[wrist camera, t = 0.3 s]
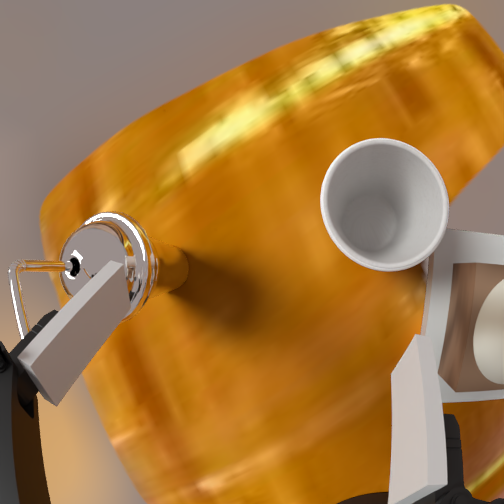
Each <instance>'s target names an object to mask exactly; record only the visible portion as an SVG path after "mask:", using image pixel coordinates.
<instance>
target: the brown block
mask: <svg viewBox="0 0 504 504" xmlns="http://www.w3.org/2000/svg"><path fill="white" fill-rule="evenodd" d="M438 375H439V376H440V377H441V378H442V379H443V380H444V381H445V382H446V383H447V384H448V385H449V386H450V387H451V388H452V389H453V390H454V391H455V392H477V391H491V390H503V389H504V265H499V264H488V263H477V262H474V263H453V273H452V284H451V294H450V303H449V311H448V318H447V325H446V331H445V337H444V343H443V348H442V354H441V359H440V364H439V368H438Z"/></svg>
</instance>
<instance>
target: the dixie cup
mask: <svg viewBox="0 0 504 504" xmlns="http://www.w3.org/2000/svg"><path fill="white" fill-rule="evenodd" d="M320 203H321V213H322V217H323V221H324V224H325V227H326V229H327V231H328V233H329V235H330V237H331V238H332V240H333V242H334V243H335V244H336V246H337V247H338V248H339V249H340V250H341V251H342V252H343V253H344V254H345V255H346V256H347V257H349V258H350V259H351V260H353V261H355V262H356V263H358V264H360V265H362V266H364V267H367V268H370V269H373V270H378V271H387V272H391V271H400V270H405V269H408V268H411V267H413V266H415V265H417V264H419V263H421V262H422V261H424V260H425V259H426V258H427V257H429V256H430V255H431V254H432V253H433V252H434V250H435V249H436V248H437V247H438V245H439V244H440V242H441V240H442V238H443V236H444V234H445V231H446V228H447V224H448V218H449V199H448V194H447V190H446V187H445V184H444V181H443V179H442V177H441V175H440V173H439V172H438V170H437V169H436V167H435V166H434V164H433V163H432V162H431V161H430V160H429V159H428V158H427V157H426V156H425V155H424V154H423V153H421V152H420V151H419V150H417V149H416V148H414V147H412V146H410V145H408V144H406V143H404V142H401V141H397V140H393V139H386V138H375V139H368V140H364V141H361V142H358V143H356V144H354V145H352V146H350V147H349V148H347V149H346V150H344V151H343V152H342V153H341V154H340V155H339V156H338V157H337V158H336V159H335V160H334V161H333V163H332V164H331V165H330V167H329V169H328V171H327V173H326V175H325V177H324V180H323V184H322V188H321V198H320Z"/></svg>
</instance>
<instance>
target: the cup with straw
mask: <svg viewBox="0 0 504 504" xmlns="http://www.w3.org/2000/svg"><path fill="white" fill-rule="evenodd" d="M110 260H112V261H115V262H118V263H122V264H124V270H125V276H126V282H127V288H128V293H129V299H130V304H131V309H130V311H129V312H128V313H127V314H126V316H125V317H124V318H123V319H122V321H121V322H120V323H123V322H125V321H128V320H130V319H132V318H133V317H134V316H136V315H137V314H138V313H139V312H140V311H141V309H142V308H143V307H144V306H145V304H146V302H147V300H149V299H151V298H154V297H157V296H159V295H162V294H164V293H167V292H170V291H172V290H175V289H177V288H179V287H180V286H182V285H183V283H184V282H185V281H186V279H187V276H188V272H189V264H188V260H187V257H186V256H185V254H184V253H183V252H182V251H181V250H180V249H179V248H177V247H175V246H172V245H170V244H167V243H165V242H162V241H160V240H157V239H155V238H152V237H149V236H148V235H147V233H146V232H145V230H144V229H143V227H142V226H141V225H140V224H139V223H138V221H136V220H135V219H134V218H132V217H131V216H129V215H127V214H125V213H123V212H116V211H112V212H102V213H99V214H96V215H94V216H92V217H91V218H89V219H88V220H86V221H85V222H84V223H83V224H82V225H81V226H80V228H78V229H77V230H75V231H74V232H73V233H72V234H71V235H70V236H69V237H68V239H67V241H66V242H65V244H64V246H63V248H62V250H61V254H60V259H59V261H47V260H23V259H21V260H17V261H14V263H12V264H11V266H10V267H9V271H8V280H9V286H10V292H11V297H12V303H13V307H14V313H15V317H16V322H17V326H18V330H19V334H20V338H21V340H22V339H23V338H24V337H25V336H26V334H27V333H28V332H29V331H31V329H30V325H29V321H28V317H27V313H26V308H25V304H24V299H23V294H22V289H21V284H20V279H19V273H21V272H59V275H60V280H61V283H62V286H63V288H64V290H65V292H66V293H67V295H68V296H69V298H70V299H72V298H73V297H74V296H75V295H76V294H77V293H78V292H79V291H80V290H81V289H82V288H83V287H84V286H85V285H86V284H87V283H88V282H89V281H90V280H91V279H92V278H93V277H94V276H95V275H96V274H97V273H98V272H99V271H100V270H101V269H102V268H103V267H104V266H105V265H106V264H107V263H108V262H109V261H110Z"/></svg>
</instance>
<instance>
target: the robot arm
mask: <svg viewBox="0 0 504 504" xmlns="http://www.w3.org/2000/svg"><path fill="white" fill-rule="evenodd" d="M130 309H131V304H130V299H129V293H128V288H127V282H126V276H125V270H124V264H122V263H118V262H115V261H112V260H110V261H109V262H108V263H107V264H106V265H105V266H104V267H103V268H102V269H101V270H100V271H99V272H98V273H97V274H96V275H95V276H94V277H93V278H92V279H91V280H90V281H89V282H88V283H87V284H86V285H85V286H84V287H83V288H82V289H81V290H80V291H79V292H78V293H77V294H76V295H75V296H74V297H73V298H72V299H71V300H70V301H69V302H68V303H67V304H66V305H65V306H64V307H63V308H62V309H61V310H60V311H59V312H58V311H56V310H53V311H51V312H50V313H48V314H46V315H44V316H43V318H42V319H41V320H40V321H39V322H38V323H37V325H35V326H34V327H33V328H32V330H31V331H29V332H28V333H27V334H26V336H25V337H24V338H23V339H22V340H21V341H20V342H19V343H18V344H17V346H16V347H15V348H14V349H13V350H12V351H11V352H10V353H8V352H7V350H6V348H5V346H4V345H3V343H2V342H1V341H0V504H51V502H50V497H49V493H48V487H47V481H46V476H45V470H44V464H43V456H42V448H41V439H40V429H39V416H38V399H37V396H36V394H37V393H38V391H39V392H40V393H41V395H42V396H43V397H44V399H46V400H47V401H49V402H50V403H52V404H54V405H55V406H58V404H59V403H60V401H61V400H62V399H63V397H64V396H65V394H66V393H67V392H68V390H69V389H70V388H71V386H72V385H73V383H74V382H75V381H76V379H77V378H78V377H79V375H80V374H81V373H82V371H83V370H84V369H85V367H86V366H87V365H88V363H89V362H90V361H91V359H92V358H93V357H94V355H95V354H96V353H97V351H98V350H99V349H100V348H101V346H102V345H103V344H104V342H105V341H106V340H107V338H108V337H109V336H110V335H111V333H112V332H113V331H114V329H115V328H116V327H117V326H118V324H119V323H120V322H121V321H122V319H123V318H124V317H125V316H126V314H127V313H128V312H129V311H130ZM391 387H392V448H391V470H390V485H389V493H373V494H367V495H362V496H358V497H354V498H351V499H348V500H345V501H342V502H340V503H337V504H504V499H502V498H498V499H496V500H493V501H492V502H486V501H482V500H479V499H475V498H473V497H472V495H471V493H470V492H469V491H468V490H467V489H465V487H464V481H463V462H462V450H461V440H460V429H459V425H458V422H457V420H456V418H455V416H454V415H453V414H443V409H442V400H441V393H440V386H439V379H438V373H437V367H436V361H435V356H434V350H433V345H432V340H431V337H428V336H423V335H417V334H415V336H414V338H413V340H412V341H411V343H410V345H409V346H408V348H407V350H406V351H405V353H404V354H403V356H402V358H401V359H400V361H399V362H398V364H397V366H396V367H395V369H394V370H393V372H392V373H391Z"/></svg>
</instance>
